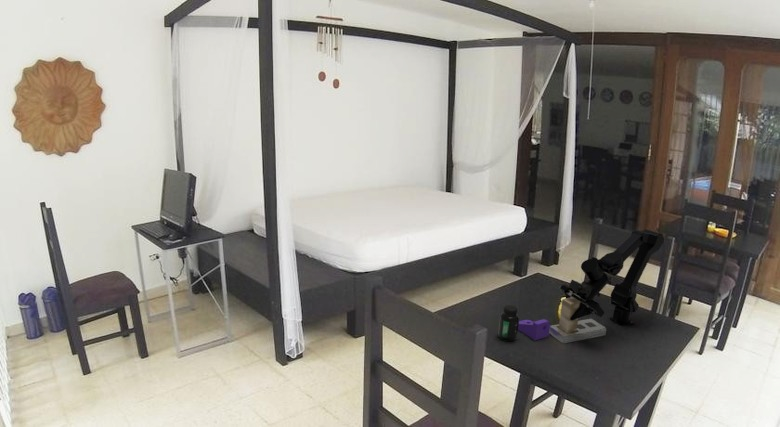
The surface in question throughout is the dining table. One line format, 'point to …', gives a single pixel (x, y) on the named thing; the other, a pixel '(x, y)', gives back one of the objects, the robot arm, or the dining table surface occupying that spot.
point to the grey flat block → (579, 331)
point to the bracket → (535, 328)
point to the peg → (568, 315)
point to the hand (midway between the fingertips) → (566, 316)
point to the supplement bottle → (508, 324)
